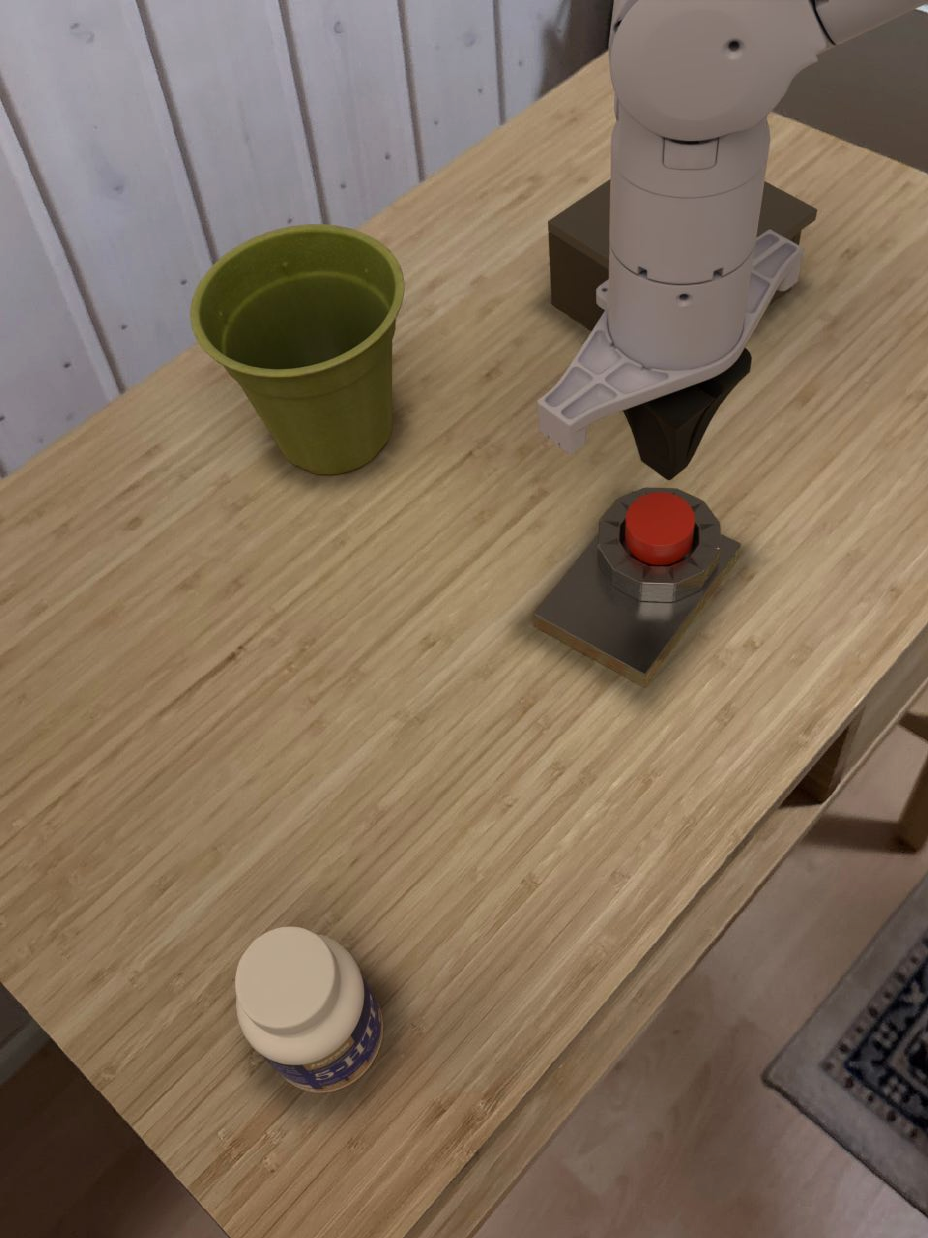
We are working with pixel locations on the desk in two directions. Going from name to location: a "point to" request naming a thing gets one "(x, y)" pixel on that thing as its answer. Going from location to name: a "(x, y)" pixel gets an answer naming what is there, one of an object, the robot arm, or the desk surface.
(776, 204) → the lid
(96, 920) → the desk surface
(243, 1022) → the pill bottle
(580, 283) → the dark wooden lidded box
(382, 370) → the plant pot
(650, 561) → the button
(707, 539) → the button block
